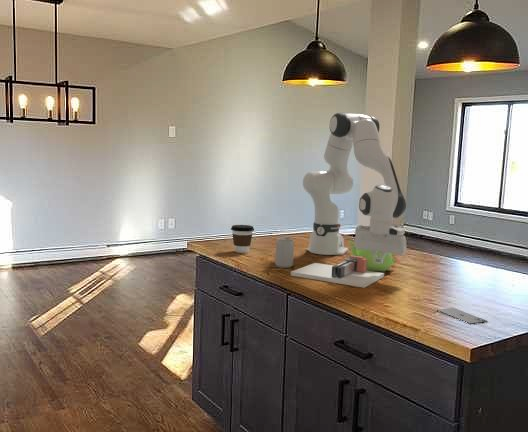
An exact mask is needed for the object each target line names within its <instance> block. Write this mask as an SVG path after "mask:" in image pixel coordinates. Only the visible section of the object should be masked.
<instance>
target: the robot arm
mask: <svg viewBox="0 0 528 432" xmlns="http://www.w3.org/2000/svg"><path fill="white" fill-rule="evenodd" d="M329 131H330V134H329V138H328V140H327V143H326V147H325V150H324V154H323V159H324V160H325V162H326V163H327V164H328V165H329V170H314V171H309V172H307V173H305V175H304V177H303V179H302V186H303V188H304V191H305V192H306V193H307V194H309V196H310V197H311V200H312V201H313V205H314V206H313V207H314V222H313V224H312V227H313V228H312V229H313V230H312V232H311V233H310V236H309V243H308V244H309V245H308V247H306V251H308V252H310V253H311V254H316V255H317V254H318V255H325V256H333V255H334V256H335V255H336V256H337V255H338V256H344V255H345V254H346V253H347V252H348V251H349V248H348V247H345V246H344V245H345V243H344V242H345V239H344V237H343V236H342V234H341V233H340V232H339V231H340V229H341V227H342V226H341V225H342V224H341V223H339V207H338V206H337V205H338V204H335V203H334V202H333V201H332V200H331V195H342V194H343V195H344V194H347V193H349V192H351V190H352V188H353V187H354V179H353V176H352V175H351V174H350V172H349V169H348V162H349V161H348V160H349V157H350V153H351V151H352V147H353V154H354V157H355V160H356V161H357V162H358V163H359V164H360V165H362V166H364V167H366V168H368V169H371V170H373V171H375V172H377V173H378V174H380V175H381V176H382V178H383V181H384V184H385V185H383V184H379V185H375V186H374V187H373V189H372V190H371V191H368V192H365V193H363V194H362V195H361V196H360V198H359V204H358V206H359V207H358V208H359V209H358V210H359V211H360V212H361V213H362V215H364V216H367V217H370V218H369V225H361V224H360V225H358V226H357V227H355V231H354V235H355V236H354V241H353V242H354V247H355V248H356V250H357V249H363V250H370V251H372V255H373V257H374V263H381V264H382V263H383V258H384V257H385V256H386V253H390V254H393V255H398V256H403V255H405V254H406V253H407V238H406V236H405V233H406V232H405V231H406V230H405V228H403V227H401V226H399V225H396V224H394V219H399V218H400V217H401V216H402V215H403V214H404V213H405V212H406V208H407V203H406V202H407V201H406V199H405V196H404V195H403V192H402V190H401V188H400V184H399V180H398V176H397V174H396V171H395V167H394V165H393V163H392V159H391V158H390V157H389V156H388V155H386V152H384V149H383V147H382V145H381V138H380V134H379V133H380V121H379V120H378V118H376V117H375V116H371V115H365V114H361V113H349V112H347V113H345V112H336V113H334V114H333V115H332V117H331V118H330V122H329ZM377 252H381V255H382V257H381V258H378V257H377V255H376V253H377Z"/></svg>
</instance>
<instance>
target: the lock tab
mask: <svg viewBox="0 0 528 432" xmlns="http://www.w3.org/2000/svg"><path fill="white" fill-rule="evenodd" d="M349 257H350V258H356V259H357V271H358V272H366V271H367V259H365V258H364V257H360V256H353V255H351V254H350V255H349Z"/></svg>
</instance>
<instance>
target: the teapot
mask: <svg viewBox="0 0 528 432" xmlns="http://www.w3.org/2000/svg"><path fill="white" fill-rule="evenodd" d="M347 242H348V243H349V244H350V256H351V255H353V256H360V257H364V258H365V259H367V271H373V272H380V273H386V271H388V270H390V268H391V267H392V266H393V264H394V263H395V260H396V259H395V258H394V254H390V253H386V256H385V257H384V258H383V263H382V264H381V263H374V257H373V255H372V251H370V250H363V249H356V248H355V247H354V241H351V240H347ZM376 255H377V257H378V258H381V257H382V255H381V252H377V253H376Z"/></svg>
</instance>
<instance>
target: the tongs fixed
mask: <svg viewBox="0 0 528 432" xmlns="http://www.w3.org/2000/svg"><path fill="white" fill-rule="evenodd" d="M343 261H348V263H347V264H345V265H342V266H340V267H337V277H338V278H342V277H344V276H345V275H348V274H350V273H352V272H357V259H356V258H350V256H348V257H346V258H344V259H343Z"/></svg>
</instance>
